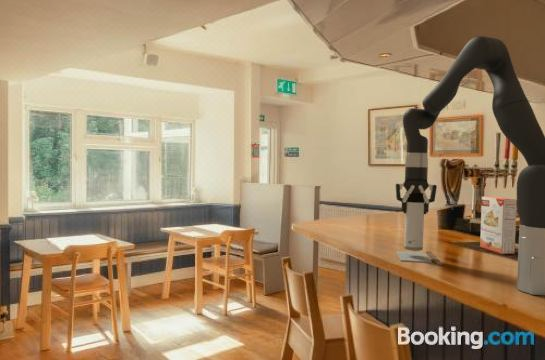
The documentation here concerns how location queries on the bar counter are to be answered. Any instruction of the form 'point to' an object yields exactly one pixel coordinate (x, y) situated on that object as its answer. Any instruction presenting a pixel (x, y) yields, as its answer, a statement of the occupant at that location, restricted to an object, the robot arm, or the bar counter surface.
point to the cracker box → (498, 224)
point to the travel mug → (414, 222)
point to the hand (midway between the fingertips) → (414, 213)
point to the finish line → (434, 258)
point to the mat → (413, 257)
